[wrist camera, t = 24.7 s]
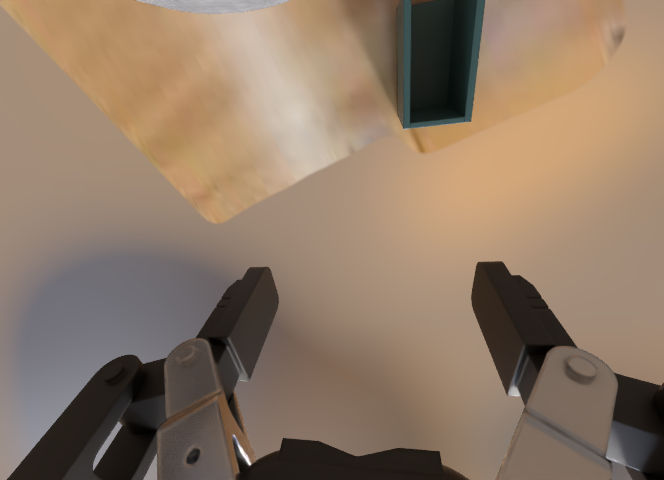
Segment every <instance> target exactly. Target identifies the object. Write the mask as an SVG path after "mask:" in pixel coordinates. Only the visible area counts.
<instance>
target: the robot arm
mask: <svg viewBox="0 0 664 480" xmlns="http://www.w3.org/2000/svg"><path fill="white" fill-rule="evenodd" d="M278 299H279V298H278V293H277V289H276V287H275V283H274V280H273V277H272V273H271V270H270V268H269V267H250V268H249V269H248V270H247V272H246V274H245V275H244V277H243V279H242V280H237V281H236V282H235V283H233V284H232V285H231V286H230V287H229V288H228V289H227V290H226V292H225V293H224V295H223V296H222V300H220V301H219V303H218V304H217V307H216V308H215V309H214V310H213V312H212V314H211V315H210V317H209V318H208V320H207V321H206V323H205V325H204V326H203V328H202V329H201V331H200V332H199V334H198V335H197V337H196V338H195V339H190V340H188V341H185V342H183V343H181V344H180V345H178V346H177V347H176V348H175V349H174V350H172V352H171V353H170V354H169V355H168V357H167V358H164V359H160V360H157V361H153V362H149V363H146V364H142V362H141V361H140V360H139V359H138V357H137V356H134V355H125V356H121V357H118V358H116V359H114V360H112V361H110V362H109V363H107V364H106V365H104V366H103V367H102V368H101V369H100V370H99V371H98V372H97V373H96V374H95V375H94V376H93V377H92V378H91V380H90V381H89V382H88V383H87V385H86V386H85V387H84V388H83V389H82V390H81V392H80V393H79V394H78V395H77V396H76V398H75V399H74V400H73V401H72V402H71V404H70V405H69V406H68V407H67V409H66V410H65V411H64V412H63V413H62V414H61V416H60V417H59V418H58V419H57V420H56V422H55V423H54V424H53V425H52V426H51V428H50V429H49V430H48V431H47V432H46V434H45V435H44V436H43V437H42V438H41V439H40V441H39V442H38V443H37V444H36V445H35V447H34V448H33V449H32V450H31V451H30V453H29V454H28V455H27V456H26V457H25V459H24V460H23V461H22V462H21V464H20V465H19V466H18V467H17V468H16V469H15V471H14V472H13V473H12V474H11V475H10V477H9V478H8V479H7V480H143V479H144V476H145V475H146V473H147V471H148V469H149V467H150V465H151V463H152V461H153V459H154V457H155V455H156V453H157V480H469V479H468V478H466V477H465V476H463V475H462V474H460V473H458V472H457V471H455V470H453V469H451V468H449V467H447V466H444V465H442V463H441V457H440V452H439V451H428V450H416V449H405V448H396V449H391V450H387V451H382V452H377V453H373V454H368V455H364V456H354V455H351V454H348V453H346V452H344V451H341V450H339V449H336V448H334V447H332V446H329V445H327V444H324V443H322V442H319V441H310V440H299V439H287V438H283V440H282V444H281V448H280V450H279V451H276V452H273V453H271V454H268V455H266V456H264V457H262V458H260V459H258V460H256V457H255V454H254V452H253V449H252V447H251V445H250V442H249V439H248V435H247V432H246V428H245V425H244V421H243V418H242V414H241V411H240V408H239V404H238V400H237V396H236V393H235V391H234V388H235V386H236V383H237V381H249V380H250V378H251V375H252V373H253V370H254V368H255V365H256V363H257V360H258V357H259V355H260V352H261V350H262V347H263V345H264V342H265V339H266V337H267V335H268V332H269V329H270V327H271V324H272V322H273V319H274V317H275V314H276V311H277V309H278V303H279V300H278ZM471 300H472V307H473V310H474V313H475V315H476V318H477V321H478V323H479V326H480V328H481V331H482V333H483V336H484V338H485V341H486V343H487V346H488V348H489V351H490V353H491V356H492V358H493V361H494V363H495V366H496V369H497V371H498V374H499V376H500V379H501V381H502V384H503V386H504V389H505V391H506V394H507V395H509V396H521V397H522V400H523V402H524V405H525V408H524V410H523V413H522V415H521V417H520V420H519V422H518V425H517V427H516V430H515V432H514V435H513V437H512V440H511V442H510V445H509V447H508V450H507V452H506V455H505V458H504V460H503V462H502V465H501V467H500V470H499V472H498V474H497V477H496V479H495V480H612V472H613V466H612V462H611V461H610V460H612V461H615V462H617V463H620V464H623V465H625V467H626V469H627V471H628V472H629V474H630V476H631V478H632V479H633V480H664V383H663V384H662V385H661V386H660V385H656V384H652V383H649V382H645V381H641V380H638V379H634V378H630V377H626V376H623V375H620V374H616V373H614V372H613V371H612V370H611V369H610V368H609V367H608V365H607V364H605V363H604V362H603V361H602V360H600V359H599V358H598V357H596V356H594V355H593V354H591V353H588V352H587V351H584V350H581V349H579V348H577V346H576V345H575V343H574V342H573V341H572V339H571V338H570V336H569V335H568V334H567V332H566V331H565V329H564V328H563V326H562V325H561V324H560V322H559V321H558V319H557V318H556V317H555V315H554V314H553V312H552V311H551V310H550V309H548V305H547V304H546V302H545V301H544V300H543V299H542V298H541V295H540V294H539V293H538V291H537V290H536V288H535V287H534V286H533V285H532V284H531V283H530V282H528V281H527V280H525V279H524V278H523V277H521V276H520V275H513V276H512V275H511V274H510V273H509V271H508V269H507V268H506V266H505V264H504V263H503V262H501V261H500V262H499V261H498V262H478V263H477V266H476V271H475V277H474V282H473V288H472V296H471ZM118 421H119V422H120V423H121V424H122V425H123V426H122V427H121V429H120V430H119V432H118V433H117V435H116V437H115V438H114V440H113V441H112V443H111V444H110V446H109V447H108V449H107V451H106V452H105V454H104V455H103V457H102V458H101V460H100V462H99V463H98V465H97V466H96V468H95V469H94V471H93V462H94V459H95V457H96V455H97V453H98V451H99V450H100V448H101V447H102V445H103V444H104V442H105V441H106V439H107V437H108V436H109V435H110V433H111V431H112V430H113V429H114V427H115V425H116V424H117V422H118ZM608 459H609V460H608Z"/></svg>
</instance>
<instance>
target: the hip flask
mask: <svg viewBox="0 0 664 480" xmlns="http://www.w3.org/2000/svg"><path fill="white" fill-rule="evenodd" d="M137 1H141V2H145V3H149V4H153V5H157V6H160V7H164V8H168V9H173V10H178V11H184V12H192V13H206V14H221V13H236V12H245V11H252V10H257V9H262V8H266V7H270V6H273V5H277V4H280V3H283V2H286V1H288V0H137Z"/></svg>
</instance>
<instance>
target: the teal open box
mask: <svg viewBox="0 0 664 480" xmlns="http://www.w3.org/2000/svg"><path fill="white" fill-rule="evenodd" d="M484 6H485V0H436V1H430V2H425V3H420V4H414V5H411V0H400V2H399V5H398V7H397V97H398V117H399V119H400V122H401V124H402V126H403V129H409V128H419V127H428V126H437V125H446V124H455V123H464V122H471V118H472V109H473V101H474V92H475V84H476V75H477V66H478V58H479V49H480V41H481V32H482V23H483V15H484Z"/></svg>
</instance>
